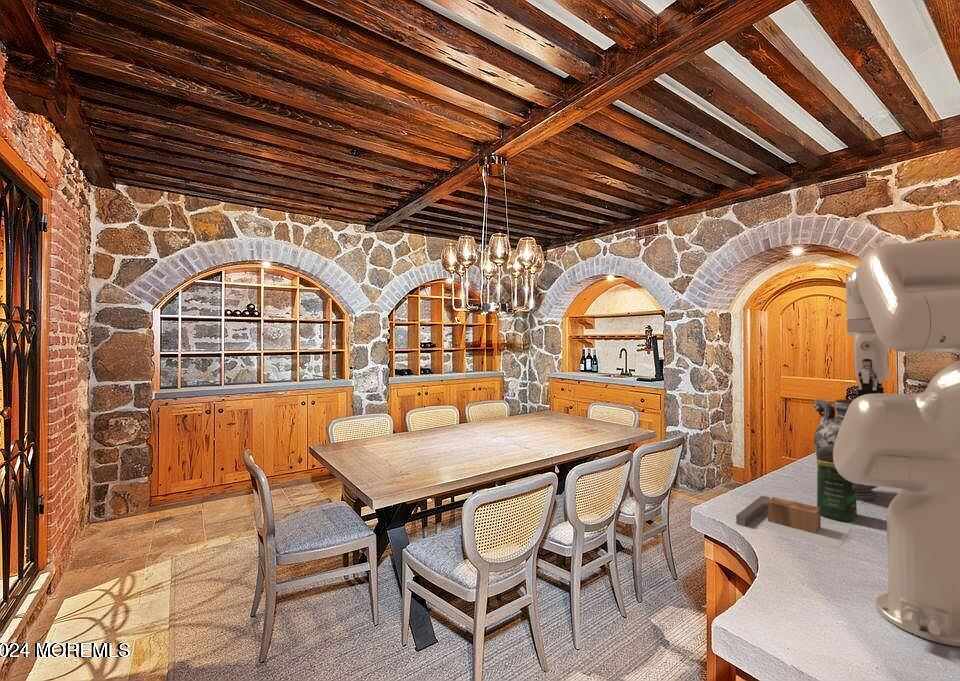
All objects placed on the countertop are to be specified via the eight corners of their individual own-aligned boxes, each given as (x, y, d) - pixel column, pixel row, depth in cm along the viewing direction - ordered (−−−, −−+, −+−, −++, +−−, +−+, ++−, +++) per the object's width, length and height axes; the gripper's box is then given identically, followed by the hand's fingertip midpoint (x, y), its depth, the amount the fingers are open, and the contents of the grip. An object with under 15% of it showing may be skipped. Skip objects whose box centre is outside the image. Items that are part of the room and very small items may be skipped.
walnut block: (767, 521, 112) (815, 533, 105) (767, 501, 112) (815, 513, 105) (773, 515, 115) (820, 527, 108) (773, 496, 115) (820, 507, 108)
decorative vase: (918, 500, 124) (915, 402, 124) (880, 512, 117) (876, 409, 117) (834, 479, 144) (831, 394, 143) (797, 488, 137) (793, 399, 137)
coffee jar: (852, 525, 109) (851, 452, 109) (813, 516, 115) (812, 446, 115) (860, 515, 115) (859, 445, 115) (823, 506, 121) (822, 440, 121)
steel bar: (745, 527, 109) (744, 517, 109) (736, 525, 111) (736, 515, 111) (770, 506, 123) (769, 497, 123) (762, 504, 124) (761, 495, 124)
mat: (838, 548, 98) (838, 547, 98) (758, 526, 110) (758, 525, 110) (850, 529, 107) (850, 528, 107) (775, 511, 119) (775, 510, 119)
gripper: (889, 326, 86) (891, 413, 85) (896, 328, 97) (898, 404, 97) (840, 327, 91) (842, 409, 91) (853, 329, 103) (854, 401, 103)
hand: (871, 406), depth 94 cm, fingers open, 9 cm apart
